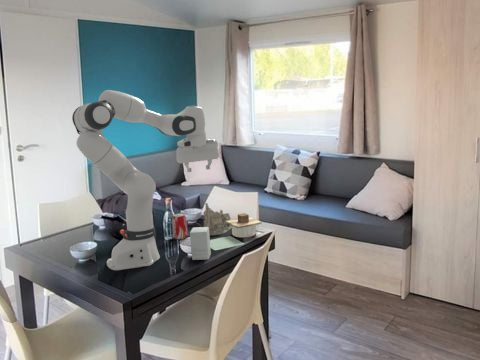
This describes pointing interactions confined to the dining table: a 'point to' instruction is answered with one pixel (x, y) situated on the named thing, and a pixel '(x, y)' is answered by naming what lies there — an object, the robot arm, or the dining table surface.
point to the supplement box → (200, 243)
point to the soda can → (179, 226)
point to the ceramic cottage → (216, 221)
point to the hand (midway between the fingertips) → (198, 170)
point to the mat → (224, 243)
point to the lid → (243, 221)
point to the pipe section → (244, 231)
